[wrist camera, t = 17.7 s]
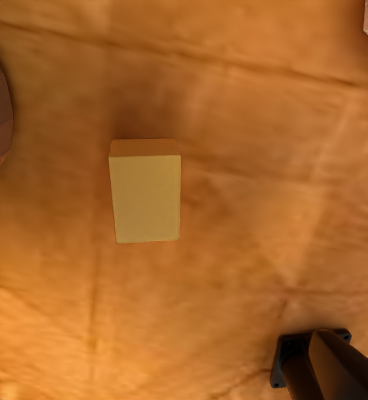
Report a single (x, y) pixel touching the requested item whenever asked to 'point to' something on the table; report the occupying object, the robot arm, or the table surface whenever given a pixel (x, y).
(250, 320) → the table surface
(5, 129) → the bowl
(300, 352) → the robot arm
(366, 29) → the cup
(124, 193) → the block
